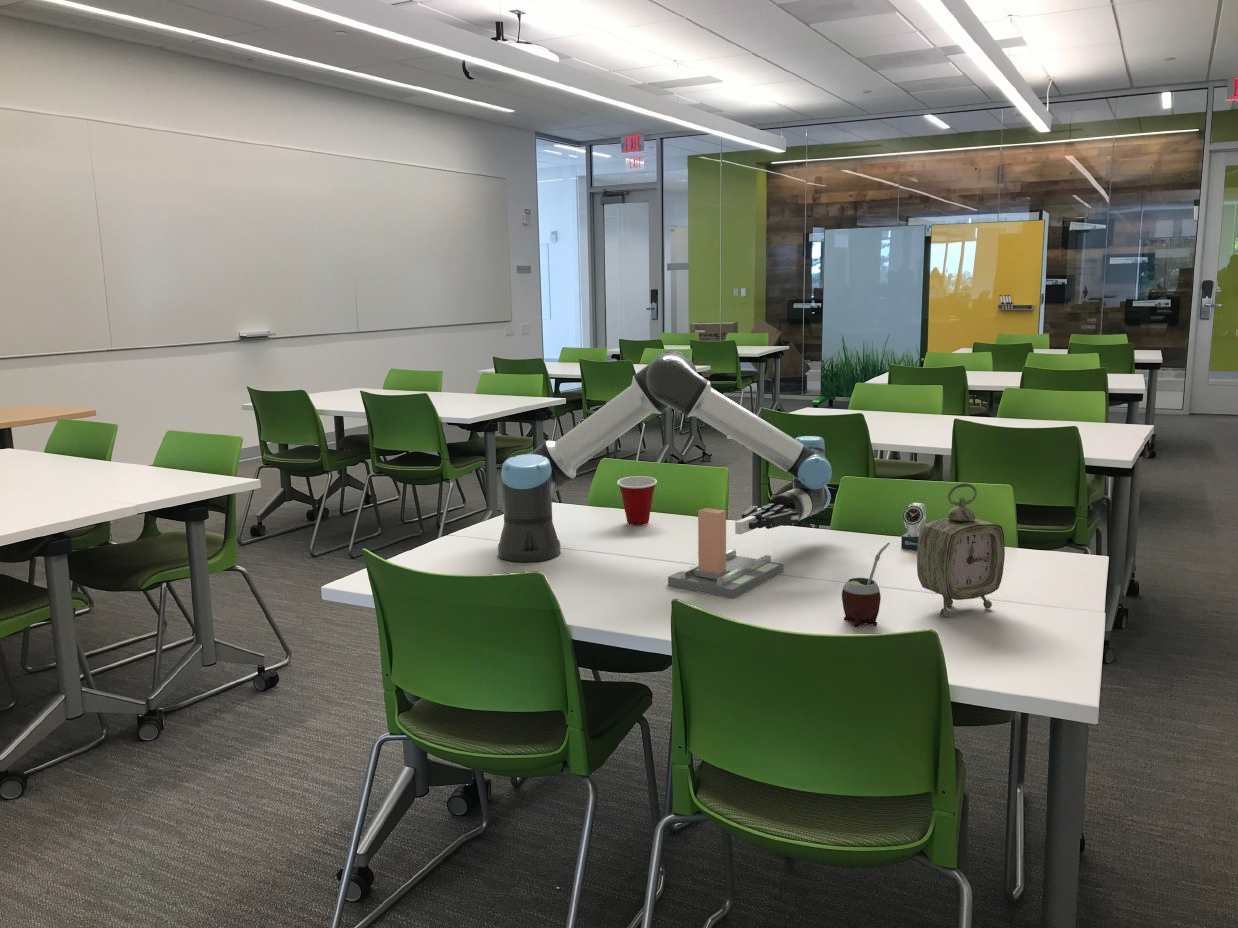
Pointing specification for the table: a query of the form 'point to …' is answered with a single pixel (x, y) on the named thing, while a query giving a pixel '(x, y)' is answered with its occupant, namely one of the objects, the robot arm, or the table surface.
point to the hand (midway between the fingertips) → (738, 528)
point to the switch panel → (729, 576)
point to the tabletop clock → (961, 555)
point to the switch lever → (711, 543)
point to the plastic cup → (637, 498)
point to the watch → (913, 525)
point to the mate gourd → (862, 598)
